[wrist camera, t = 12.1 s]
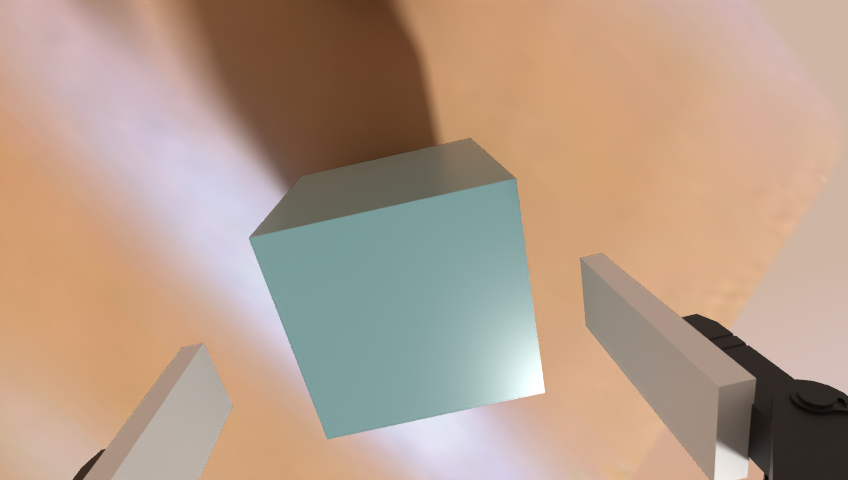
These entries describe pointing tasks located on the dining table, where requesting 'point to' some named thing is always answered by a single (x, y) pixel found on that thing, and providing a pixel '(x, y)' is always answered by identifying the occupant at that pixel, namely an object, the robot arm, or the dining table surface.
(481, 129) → the dining table surface
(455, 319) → the seafoam cube
